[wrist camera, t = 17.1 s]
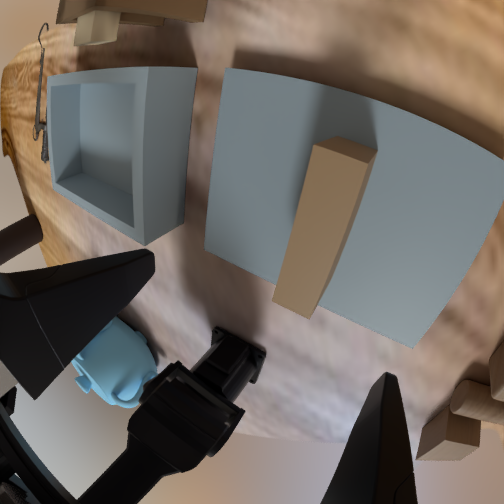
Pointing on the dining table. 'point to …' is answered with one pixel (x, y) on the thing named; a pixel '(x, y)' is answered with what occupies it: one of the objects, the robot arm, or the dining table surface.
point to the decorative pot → (116, 364)
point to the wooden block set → (465, 416)
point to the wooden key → (97, 28)
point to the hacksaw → (39, 126)
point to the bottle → (19, 237)
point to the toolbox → (124, 128)
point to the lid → (346, 201)
